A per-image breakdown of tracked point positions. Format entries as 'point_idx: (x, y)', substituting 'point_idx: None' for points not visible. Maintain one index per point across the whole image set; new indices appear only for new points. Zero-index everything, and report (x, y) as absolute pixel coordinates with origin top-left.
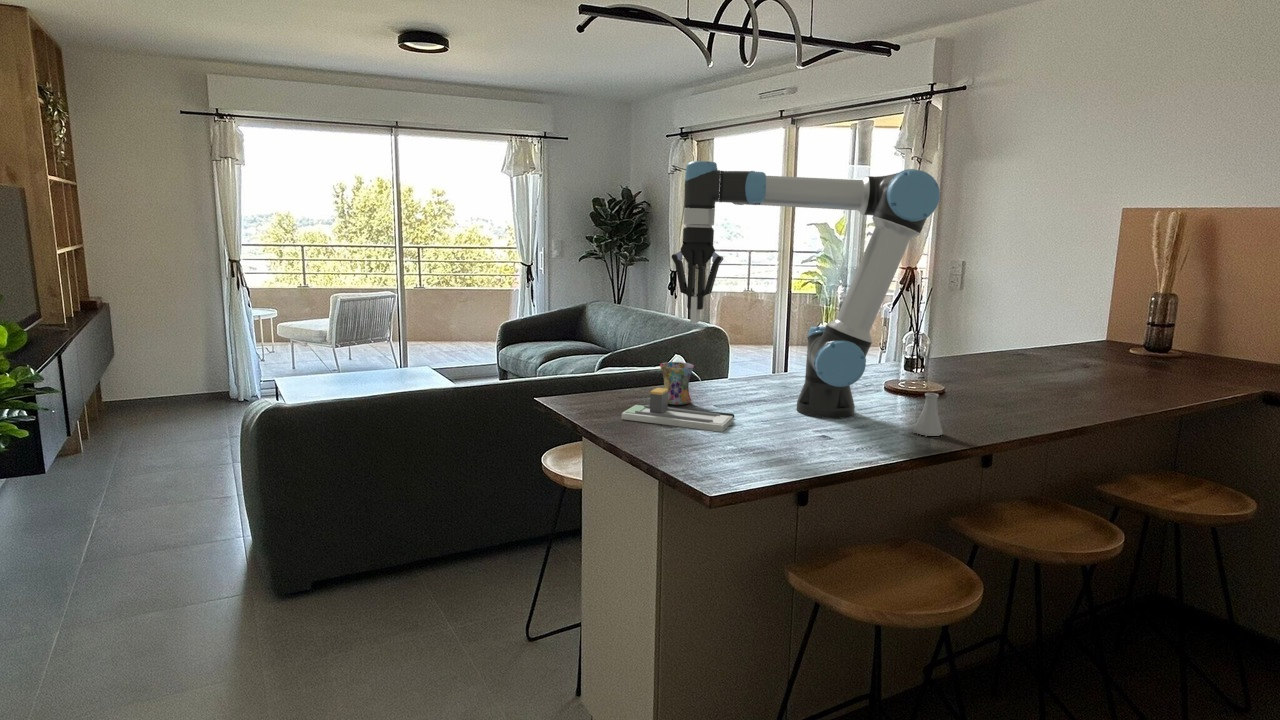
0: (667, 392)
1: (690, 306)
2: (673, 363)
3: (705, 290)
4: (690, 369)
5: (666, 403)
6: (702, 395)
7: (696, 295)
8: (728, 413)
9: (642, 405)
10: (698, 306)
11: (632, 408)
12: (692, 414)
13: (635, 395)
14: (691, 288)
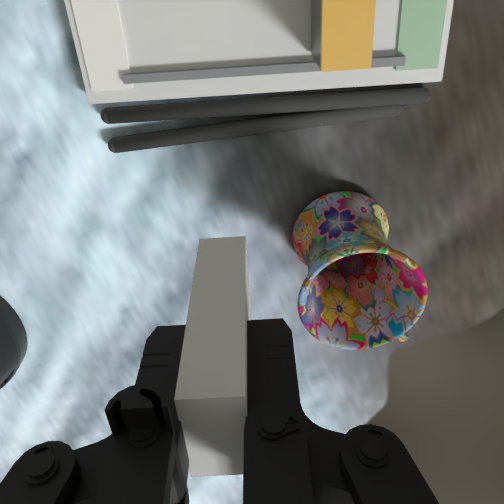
0: (319, 58)
1: (257, 335)
2: (387, 335)
3: (50, 487)
4: (302, 285)
5: (314, 42)
6: (295, 336)
7: (164, 395)
8: (125, 145)
9: (419, 99)
10: (178, 343)
11: (439, 8)
12: (214, 52)
13: (477, 253)
14: (250, 493)
